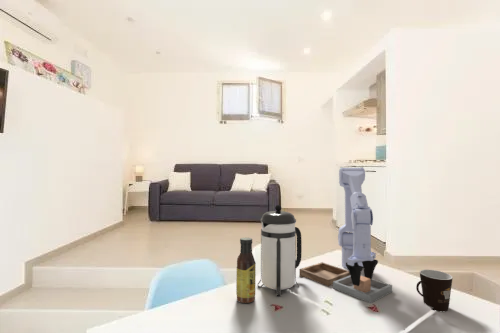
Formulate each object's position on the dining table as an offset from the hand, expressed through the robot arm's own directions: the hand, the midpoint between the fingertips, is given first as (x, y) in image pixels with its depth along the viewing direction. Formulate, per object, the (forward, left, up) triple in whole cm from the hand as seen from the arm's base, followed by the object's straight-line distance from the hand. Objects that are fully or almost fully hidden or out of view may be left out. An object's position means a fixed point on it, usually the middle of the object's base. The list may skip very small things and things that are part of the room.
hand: (362, 282), depth 97 cm
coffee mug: (-8, +18, -4) cm, 20 cm away
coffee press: (+20, -21, -4) cm, 29 cm away
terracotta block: (0, 0, -3) cm, 3 cm away
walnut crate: (0, -16, -4) cm, 16 cm away
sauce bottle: (+36, -20, -4) cm, 41 cm away
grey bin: (0, 0, -4) cm, 4 cm away
